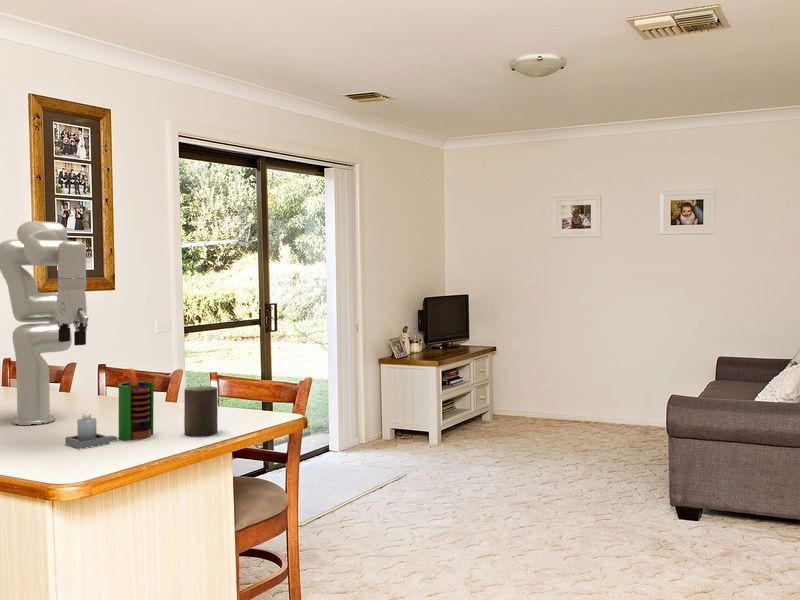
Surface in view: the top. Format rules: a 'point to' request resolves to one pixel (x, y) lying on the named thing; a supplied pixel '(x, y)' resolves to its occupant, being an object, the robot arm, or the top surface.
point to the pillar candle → (200, 411)
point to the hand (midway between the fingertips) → (72, 343)
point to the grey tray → (89, 441)
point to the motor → (135, 408)
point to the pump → (86, 427)
